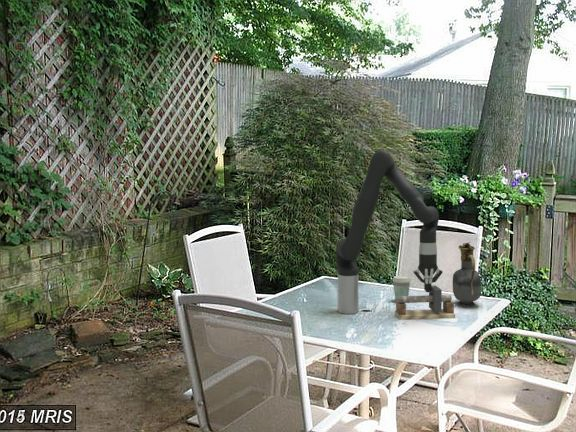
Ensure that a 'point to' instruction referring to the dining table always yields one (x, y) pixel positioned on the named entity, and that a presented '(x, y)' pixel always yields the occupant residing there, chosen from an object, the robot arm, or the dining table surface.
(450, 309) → the pipe rig
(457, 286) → the dark grey bottle
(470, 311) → the dining table surface
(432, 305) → the collar
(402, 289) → the coffee cup
